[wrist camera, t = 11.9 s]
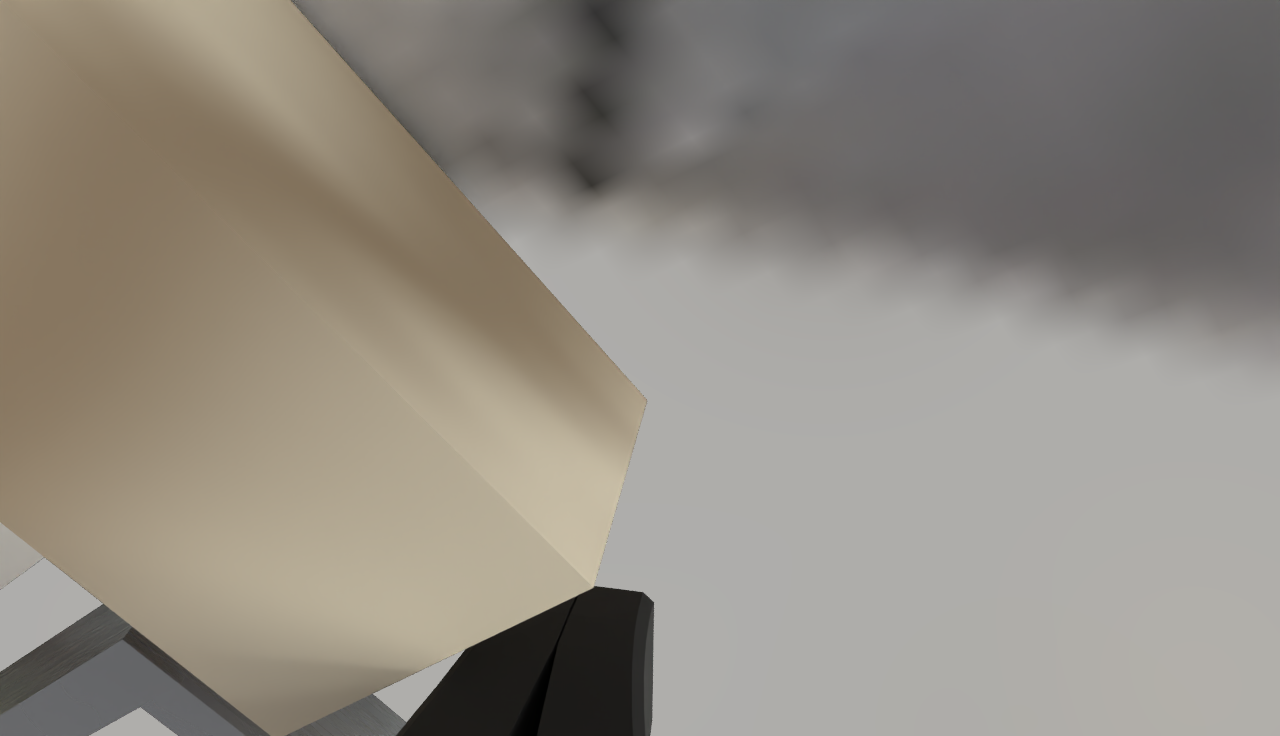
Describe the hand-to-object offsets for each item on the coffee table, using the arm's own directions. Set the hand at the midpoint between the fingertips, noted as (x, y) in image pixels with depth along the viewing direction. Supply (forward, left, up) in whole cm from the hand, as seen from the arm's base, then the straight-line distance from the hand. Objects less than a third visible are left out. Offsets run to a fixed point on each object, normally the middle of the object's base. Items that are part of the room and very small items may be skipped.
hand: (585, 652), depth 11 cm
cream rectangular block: (+5, 0, -1) cm, 5 cm away
